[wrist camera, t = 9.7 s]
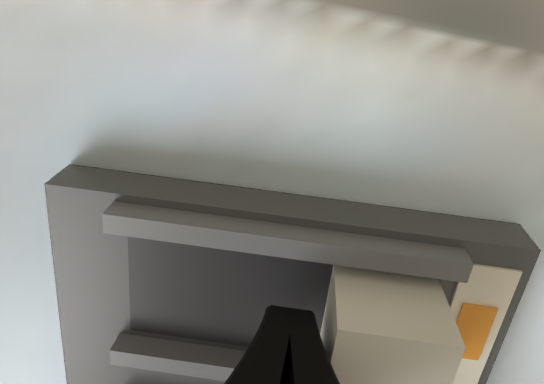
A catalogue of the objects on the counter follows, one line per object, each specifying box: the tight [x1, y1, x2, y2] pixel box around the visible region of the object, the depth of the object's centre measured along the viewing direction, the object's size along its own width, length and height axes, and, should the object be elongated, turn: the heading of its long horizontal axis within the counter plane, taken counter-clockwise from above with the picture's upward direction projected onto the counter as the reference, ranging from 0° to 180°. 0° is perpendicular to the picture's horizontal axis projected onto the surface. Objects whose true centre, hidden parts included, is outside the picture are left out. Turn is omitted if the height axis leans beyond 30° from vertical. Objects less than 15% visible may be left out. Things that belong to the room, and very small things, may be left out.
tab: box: [320, 265, 466, 384], centre depth 13 cm, size 3×4×3 cm
